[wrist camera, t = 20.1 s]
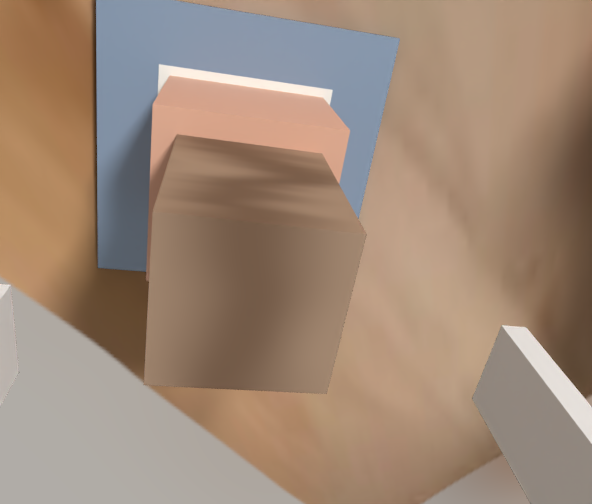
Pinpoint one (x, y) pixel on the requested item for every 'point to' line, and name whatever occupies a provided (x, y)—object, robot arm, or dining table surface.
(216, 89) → the terracotta base
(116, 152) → the board
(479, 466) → the dining table surface
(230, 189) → the walnut column
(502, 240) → the dining table surface
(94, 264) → the dining table surface
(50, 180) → the dining table surface
